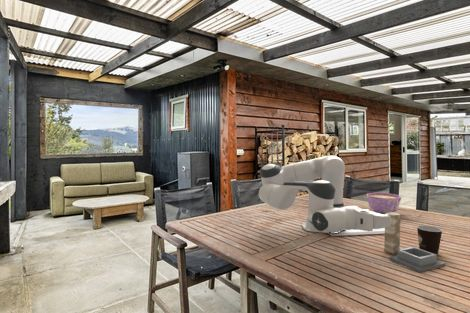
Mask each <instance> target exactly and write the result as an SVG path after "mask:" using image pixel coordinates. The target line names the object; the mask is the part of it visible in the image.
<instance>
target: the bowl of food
mask: <svg viewBox="0 0 470 313" xmlns="http://www.w3.org/2000/svg"><path fill="white" fill-rule="evenodd" d="M366 199H367V203H368V206H369V208H370V210H372V212H376V213H380V214H385V213H390V212H393V213H396V211H397V210H398V209H399V206H400V204H401V199H402V196H401V195H398V194H394V193H390V192H389V193H387V192H369V193H366Z"/></svg>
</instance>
